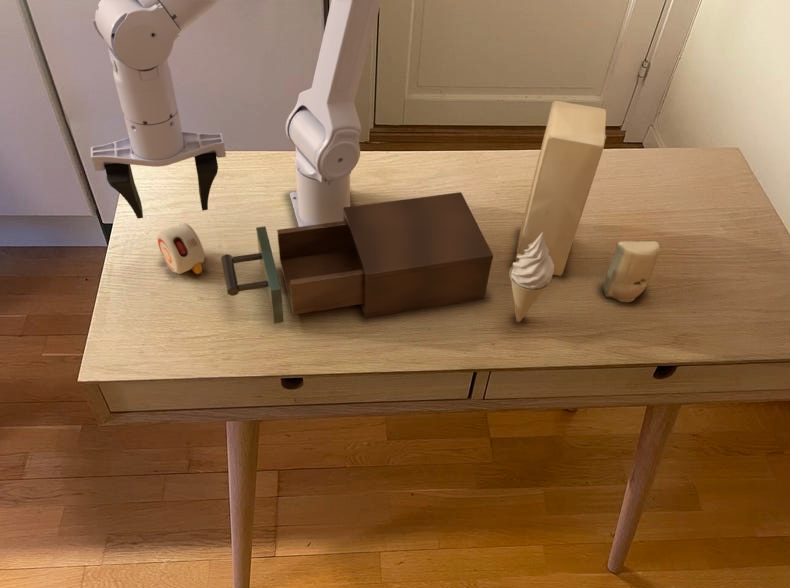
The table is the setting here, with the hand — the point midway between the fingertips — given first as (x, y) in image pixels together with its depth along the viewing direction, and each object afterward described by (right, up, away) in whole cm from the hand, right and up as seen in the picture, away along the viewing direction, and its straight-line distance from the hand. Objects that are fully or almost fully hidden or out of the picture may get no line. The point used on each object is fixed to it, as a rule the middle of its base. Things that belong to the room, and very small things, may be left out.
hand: (172, 209), depth 92 cm
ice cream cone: (+43, -14, +4) cm, 45 cm away
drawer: (+16, -9, +5) cm, 19 cm away
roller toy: (-1, -6, +7) cm, 10 cm away
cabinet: (+29, -7, +9) cm, 31 cm away
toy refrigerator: (+48, -4, +13) cm, 50 cm away
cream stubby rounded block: (+58, -9, +9) cm, 59 cm away
